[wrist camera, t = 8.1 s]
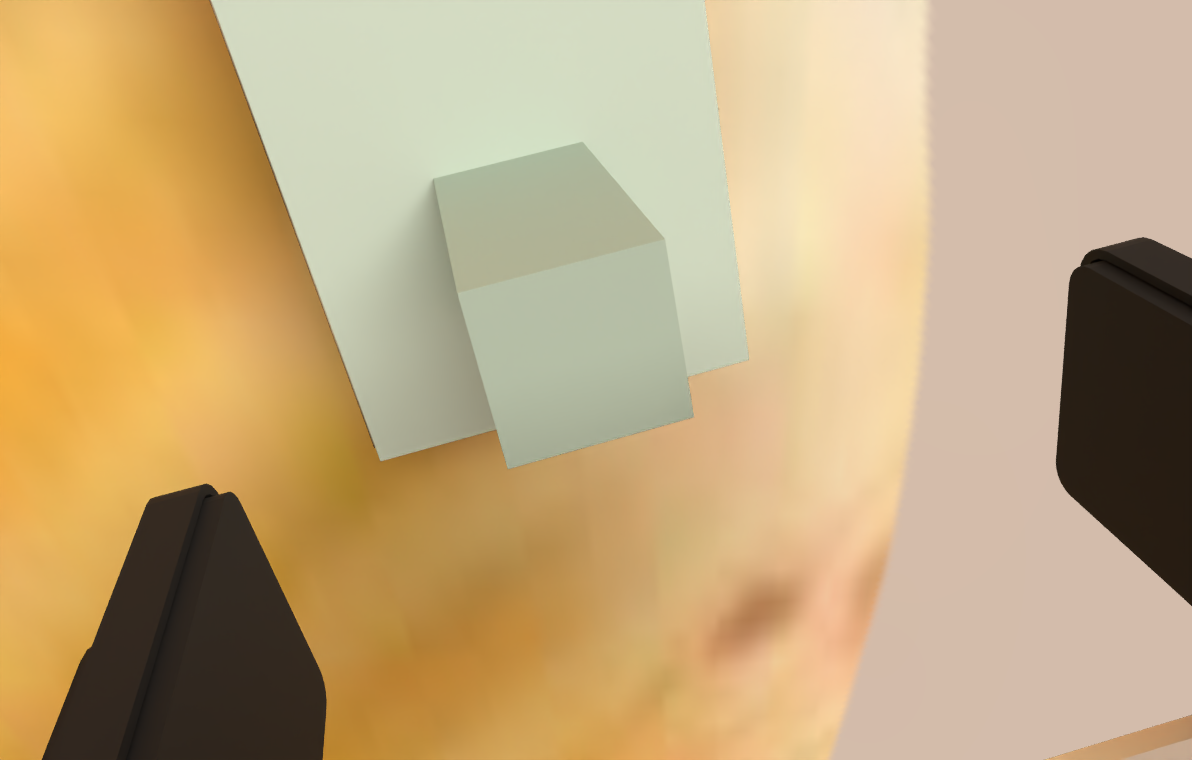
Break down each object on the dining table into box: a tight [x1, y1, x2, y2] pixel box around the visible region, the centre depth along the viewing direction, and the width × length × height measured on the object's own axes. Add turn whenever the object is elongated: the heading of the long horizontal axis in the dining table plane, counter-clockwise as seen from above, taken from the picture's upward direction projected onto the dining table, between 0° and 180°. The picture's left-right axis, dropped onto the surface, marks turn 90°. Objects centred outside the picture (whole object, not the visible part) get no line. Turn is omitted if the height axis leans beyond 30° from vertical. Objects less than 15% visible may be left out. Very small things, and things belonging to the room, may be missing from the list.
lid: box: [211, 0, 749, 469], centre depth 16 cm, size 14×9×7 cm, turn 11°
